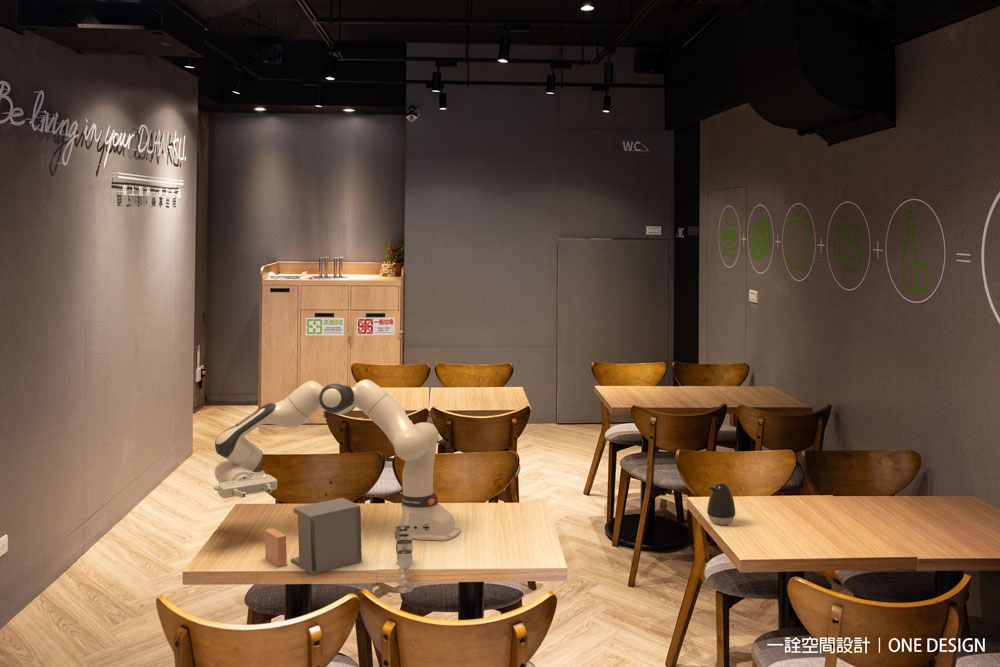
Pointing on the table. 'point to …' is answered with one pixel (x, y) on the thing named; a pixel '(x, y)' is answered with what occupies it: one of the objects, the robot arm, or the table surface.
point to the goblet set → (404, 555)
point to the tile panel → (275, 547)
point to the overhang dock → (328, 535)
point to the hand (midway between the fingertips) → (256, 493)
